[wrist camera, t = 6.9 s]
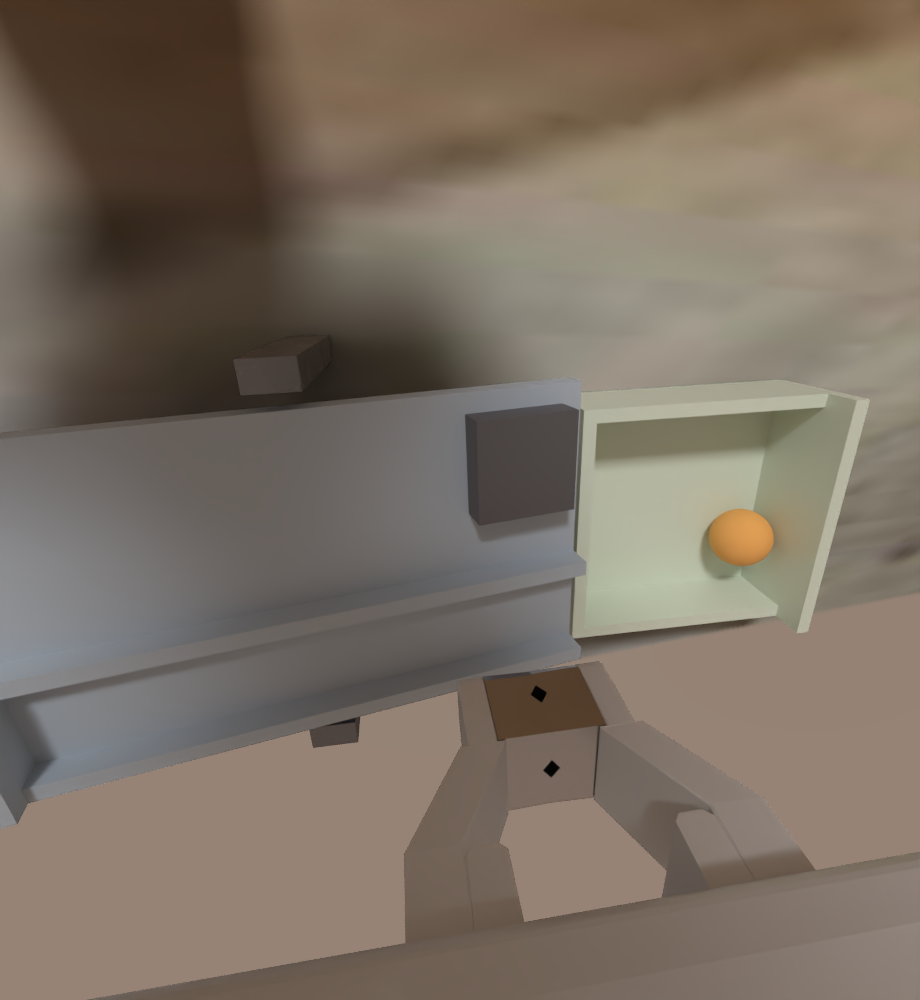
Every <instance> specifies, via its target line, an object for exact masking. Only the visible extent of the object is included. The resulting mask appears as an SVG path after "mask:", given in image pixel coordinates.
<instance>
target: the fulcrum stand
mask: <svg viewBox="0 0 920 1000" xmlns="http://www.w3.org/2000/svg"><path fill="white" fill-rule="evenodd" d="M332 359H333V358H332V351H331V343H330V336H329V335H311V336H291V337H286V338H283V339H281V340H278V341H276V342H274V343H271V344H269V345H266V346H264V347H261V348H259V349H257V350H254V351H252V352H249V353H247V354H244V355H242V356H239V357H237V358H235V359H233V362H234V366H235V371H236V376H237V381H238V386H239V391H240V395H256V394H272V393H288V392H302V391H303V390H304V389H305V388H306V387H307V386H308V385H309V384H310V383H311V382H312V381H313V379H314V378H315V377H316V376H317V375H318V374H319V373H320V372H321V371H322V370H323V369H324V368H325V367H326V365H327V364H328V363H329V362H330V361H331V360H332ZM359 724H360V717H356V718H352V719H348V720H344V721H340V722H337V723H333V724H329V725H325V726H321V727H318V728H314V729H310V735H311V740H312V744H313V747H314V748H315V747H323V746H330V745H338V744H346V743H353V742H358V736H359Z"/></svg>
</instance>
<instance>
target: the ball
mask: <svg viewBox="0 0 920 1000" xmlns="http://www.w3.org/2000/svg"><path fill="white" fill-rule="evenodd" d="M709 543H710V546H711V548H712V550H713V552H714V553H715V554H716V555H717V556H718V557H719V558H720V559H721V560H723V561H725V562H727V563H729V564H732V565H736V566H749V565H753V564H756V563H758V562H760V561H761V560H763V559H764V558H765V557H766V556H767V555H768V554H769V553H770V551H771V549H772V546H773V543H774V534H773V530H772V528H771V526H770V524H769V523H768V521H767V520H766V519H765V518H764V517H763V516H761V515H760V514H758V513H756V512H754V511H751V510H747V509H733V510H729V511H726V512H724V513H722V514H721V515H719V516H718V517H717V518H716V519H715V520H714V522H713V523H712V525H711V527H710V530H709Z"/></svg>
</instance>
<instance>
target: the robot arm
mask: <svg viewBox="0 0 920 1000" xmlns="http://www.w3.org/2000/svg"><path fill="white" fill-rule="evenodd" d="M457 690H458V705H459V720H460V729H461V730H460V731H461V741H462V747H460V749H459V751H458V753H457V755H456V757H455V759H454V761H453V763H452V765H451V766H450V768H449V770H448V772H447V774H446V776H445V778H444V780H443V781H442V784H441V785H440V787H439V789H438V791H437V793H436V795H435V797H434V799H433V801H432V802H431V804H430V806H429V808H428V810H427V812H426V814H425V816H424V817H423V819H422V821H421V823H420V825H419V827H418V829H417V831H416V833H415V835H414V836H413V838H412V840H411V842H410V844H409V846H408V848H407V850H406V852H405V854H404V877H405V936H406V937H405V938H406V943H404V944H399V945H393V946H387V947H382V948H376V949H370V950H365V951H359V952H354V953H348V954H342V955H337V956H331V957H326V958H320V959H314V960H309V961H303V962H298V963H292V964H286V965H280V966H275V967H269V968H264V969H258V970H252V971H247V972H241V973H236V974H230V975H224V976H219V977H213V978H207V979H202V980H196V981H190V982H185V983H179V984H173V985H168V986H162V987H156V988H151V989H145V990H140V991H134V992H128V993H123V994H117V995H112V996H106V997H100V998H94V999H89V1000H920V852H915V853H910V854H904V855H899V856H893V857H887V858H881V859H876V860H870V861H864V862H859V863H853V864H847V865H842V866H837V867H831V868H825V869H819V870H815V869H814V867H813V866H812V864H811V863H810V862H809V860H808V859H807V857H806V856H805V855H804V853H803V852H802V850H801V849H800V848H799V846H798V845H797V844H796V842H795V841H794V839H793V838H792V837H791V835H790V834H789V832H788V831H787V830H786V829H785V827H784V826H783V824H782V823H781V821H780V820H779V819H778V817H777V816H776V815H775V813H774V812H773V810H772V809H771V808H770V806H769V805H768V803H767V802H766V801H765V800H764V798H763V797H762V796H760V795H759V794H757V793H755V792H754V791H752V790H751V789H749V788H748V787H746V786H744V785H743V784H741V783H740V782H738V781H737V780H735V779H733V778H732V777H730V776H728V775H727V774H726V773H724V772H722V771H721V770H719V769H718V768H716V767H714V766H713V765H711V764H710V763H708V762H706V761H705V760H703V759H702V758H700V757H699V756H697V755H696V754H694V753H692V752H691V751H689V750H688V749H686V748H685V747H683V746H681V745H680V744H678V743H677V742H675V741H674V740H672V739H670V738H669V737H667V736H666V735H664V734H663V733H661V732H659V731H658V730H656V729H655V728H653V727H652V726H650V725H648V724H646V723H645V722H644V721H637V722H635V720H634V719H633V717H632V715H631V713H630V711H629V710H628V708H627V706H626V704H625V703H624V701H623V699H622V697H621V696H620V694H619V692H618V690H617V689H616V687H615V685H614V683H613V681H612V680H611V678H610V676H609V674H608V673H607V671H606V669H605V667H604V666H603V664H602V663H600V662H599V661H598V662H591V663H584V664H577V665H575V666H574V665H572V666H564V667H557V668H550V669H543V670H536V671H528V672H521V673H511V674H502V675H492V676H483V677H482V678H481V677H479V678H469V679H459V680H458V681H457ZM592 797H594V800H595V801H596V802H597V803H598V804H599V805H600V806H601V807H602V808H603V809H604V810H605V811H606V812H607V813H609V815H610V816H611V817H612V818H614V820H615V821H616V822H618V823H619V824H620V825H621V826H622V827H623V828H624V829H625V830H626V831H627V832H628V833H629V834H630V835H631V836H632V837H633V838H634V839H635V840H636V841H637V842H638V843H639V844H640V845H641V846H642V847H643V848H644V849H645V850H646V851H647V852H648V853H649V854H650V855H651V856H652V857H653V858H654V859H655V860H656V861H658V863H659V864H660V865H661V866H663V868H665V870H667V872H666V878H665V884H664V889H663V894H662V898H657V899H652V900H646V901H641V902H635V903H629V904H624V905H618V906H612V907H607V908H601V909H596V910H590V911H584V912H579V913H573V914H568V915H562V916H556V917H550V918H545V919H539V920H534V921H528V922H524V919H523V915H522V910H521V906H520V902H519V896H518V892H517V887H516V883H515V878H514V874H513V869H512V864H511V860H510V855H509V851H508V848H506V847H505V846H503V845H501V844H500V843H499V841H500V837H501V834H502V831H503V828H504V825H505V822H506V818H507V815H508V811H509V810H514V809H520V808H525V807H530V806H536V805H541V804H546V803H550V802H551V803H552V802H560V801H568V800H576V799H584V798H592Z"/></svg>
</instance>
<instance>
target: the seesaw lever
mask: <svg viewBox="0 0 920 1000" xmlns="http://www.w3.org/2000/svg"><path fill="white" fill-rule="evenodd" d="M581 384H582V381H581V380H577V379H574V378H570V377H567V378H557V379H547V380H537V381H526V382H516V383H506V384H496V385H485V386H475V387H465V388H455V389H444V390H434V391H424V392H414V393H403V394H393V395H383V396H373V397H362V398H352V399H342V400H332V401H322V402H311V403H301V404H291V405H281V406H270V407H260V408H250V409H240V410H229V411H219V412H209V413H199V414H188V415H178V416H168V417H158V418H147V419H137V420H127V421H117V422H107V423H96V424H86V425H76V426H66V427H55V428H45V429H35V430H25V431H14V432H4V433H0V829H1V828H5V827H9V826H12V825H16V824H18V822H19V820H20V818H21V816H22V814H23V812H24V810H25V808H26V806H27V804H28V803H31V802H35V801H38V800H42V799H46V798H50V797H54V796H57V795H61V794H65V793H69V792H73V791H77V790H81V789H84V788H88V787H92V786H96V785H100V784H103V783H107V782H111V781H114V780H119V779H123V778H126V777H130V776H134V775H138V774H141V773H145V772H149V771H153V770H157V769H161V768H164V767H168V766H172V765H176V764H180V763H183V762H187V761H191V760H195V759H199V758H202V757H207V756H210V755H214V754H218V753H222V752H226V751H229V750H233V749H237V748H241V747H245V746H248V745H253V744H256V743H260V742H264V741H268V740H272V739H275V738H279V737H283V736H287V735H291V734H295V733H298V732H302V731H306V730H310V729H314V728H318V727H321V726H325V725H329V724H333V723H337V722H340V721H344V720H348V719H352V718H356V717H360V716H363V715H367V714H371V713H375V712H378V711H382V710H386V709H390V708H394V707H398V706H402V705H405V704H409V703H413V702H417V701H421V700H424V699H428V698H432V697H436V696H440V695H443V694H447V693H451V692H455V691H458V690H457V681H458V680H459V679H469V678H479V677H481V678H482V677H483V676H492V675H502V674H511V673H521V672H528V671H535V670H539V669H543V668H547V667H551V666H554V665H558V664H562V663H566V662H570V661H573V660H577V659H580V656H581V647H580V646H579V644H578V643H577V642H576V641H575V640H574V638H573V637H572V636H571V635H570V634H569V625H570V605H571V585H572V578H574V577H578V576H583V575H586V561H585V560H584V559H582V558H581V557H580V556H579V555H578V554H577V553H576V552H575V551H573V545H574V525H575V505H576V485H577V464H578V444H579V424H580V404H581Z"/></svg>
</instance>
